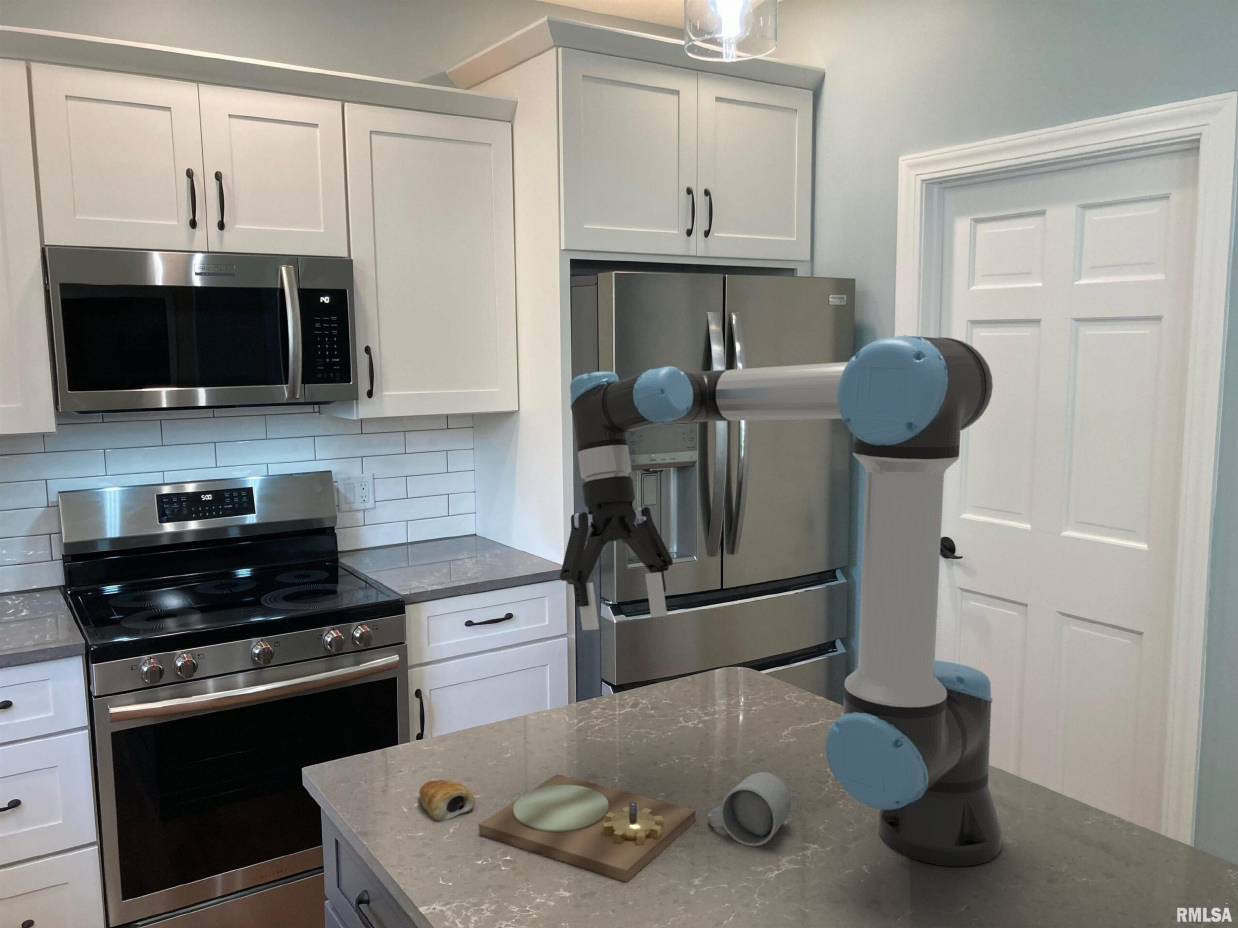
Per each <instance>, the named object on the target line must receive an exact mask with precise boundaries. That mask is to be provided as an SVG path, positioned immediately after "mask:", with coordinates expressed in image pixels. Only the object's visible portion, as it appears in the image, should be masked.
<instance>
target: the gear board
mask: <svg viewBox="0 0 1238 928" xmlns="http://www.w3.org/2000/svg"><path fill="white" fill-rule="evenodd" d="M630 802H636V803H637V811H641V810H643V809H644V808H647V809H651V810H652V816H662V817H663V819H664V828H662V836H661V837H660V838H659V839H655V838H652V837H649V838H647V839H645V844H642V845H636V843H635V841H627V840H625V841H624V842H623V843H621V844H619V843H615V842H613V835H605V836H604V834H603V832H602V823H605V815H606V814H608V813H609V812H611V813H614V814H618V813H621V812H622V808H624V807H629V803H630ZM694 821H695V822H696V809H693V808H688V807H684V806H681V805H677V804H673V803H669V802H667V801H662V800H658V799H655V798H650V797H647V796H644V795H639V794H635V793H632V792H628V791H624V790H620V789H617V788H612V787H608V786H604V785H601V784H597V783H593V782H591V781H586V780H582V779H580V778H579V779H578V778H575V777H571V776H567V775H563V774H559V773H557V774H555V775H554V776H552V777H550V778H549V779H547V780H545V781H544V782H542V783H541V784H539V785H538V786H536V787H534V788H533V789H531V790H530V791H528V792H527V791H526V793H524V794H522V795H521V796H519V797H518V799H516V800H514V801H513V802H511V803H509V804H508V805H506V806H505V807H503V808H502V809H500V810H498V811H497V812H495V813H494V814H492V815H490V816H489V817H488V818H486V819H484V820H483V821H480V823H478V835H479V836H482V837H485V838H489V839H491V840H494V841H497V842H501V843H504V844H506V845H510V846H513V847H516V848H520V849H522V850H525V851H529V852H531V853H535V854H538V855H541V856H544V857H547V856H548V857H547V858H550V857H551V859H553V858H555V859H554V860H556V861H559V860H560V861H559V862H562V861H564V862H563V863H566V864H569V863H570V864H569V865H572V864H573V865H572V866H575V865H577V866H576V867H578V866H579V867H578V868H582V869H585V870H587V869H588V871H590V870H592V871H591V872H594V873H597V874H600V875H602V876H603V875H604V876H606V877H609V878H612V879H616V880H620V881H622V882H625V883H628V882H629V881H630V880H631V879H633V877H635V876H636V875H637V874H638V873H640V872H641V870H642V869H644V868H645V867H646V866H647V865H648V864H649V863H651V861H653V859H655V858H656V857H657V856H658V855H659V854H661V853H662V851H664V850H665V849H666V848H667V847H668V846H669V845H670V844H672V842H673V841H675V840H676V839H678V837H679V836H681V834H683V833H684V832H685V831H686V830H687V829H688V828H690V826H692V825H693V824H694V823H695V822H694ZM693 822H694V823H693ZM686 828H687V829H686ZM685 829H686V830H685ZM684 830H685V831H684ZM683 831H684V832H683Z"/></svg>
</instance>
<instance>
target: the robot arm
mask: <svg viewBox="0 0 1238 928" xmlns="http://www.w3.org/2000/svg"><path fill="white" fill-rule="evenodd" d="M619 379H620V378H619V376H618V374H617V373H615V372H613V371H594V372H590V373H583V374H579V375H578V376H576V377H574V378H573V379H572V380H571V382H570V385H569V391H570V410H571V412H572V420H573V424H574V425H573V426H574V432H575V442H576V447H577V449H576V450H577V456H578V458H577V459H578V463H579V465H578V466H579V472H580V473H579V474H580V478H581V479H583V480H585V481H584V482H583V483H582V484H581V488H582V497H583V504H584V506H585V507H586V508H587V509H588V510H587V511H588V512H585V511H583V512H579V513H574V514H571V516H570V527H571V529H570V534H569V538H568V541H567V546H566V550H565V554H564V558H563V562H562V566H561V570H560V575H559V579H560V581H562V582H567V584H568V585H570V586H571V585H572V586H573V593H574V601H575V605H576V607H577V608H579V612H580V613H579V614H580V623H581V629H582V631H593V630H599V629H600V627H599V618H598V612H597V605H596V604H597V603H596V595H595V588H594V587H595V586H594V582H588V580H589V578H590V576H591V574H592V571H593V570H594V568H595V565H596V563H598V559H599V557H600V556H601V553H602V551H603V549H604V547H605V546H606V545H607V543H609V542H619V541H621V542H623V543H626V544H627V546H628V547H629V548H630V549H631V551H633V553H634V554H635V556H636V557H637V558H638V559H639V560H640V561H641V563H642V565H643V566H644V567H645V568H646V569H647V570H648V571H649V572H650V573H648V572H647V573H644V575H645V582H646V590H647V597H648V604H649V613H650V618H656V617H657V618H658V617H666V616H668V612H667V611H668V610H667V604H666V597H665V596H666V595H665V593H666V590H667V587H666V581H665V575H664V573H665V572H666V571H668V570H669V567H670V566H672V565H673V563H674V562H673V558H672V557H671V555H670V552H669V550H668V549H667V546H666V544H665V542H664V540H663V539H662V537H661V534H660V533H659V532H658V528H657V527H656V525H655V523H654V520H653V517H652V513H651V509H650V507H648V506H645V507H639V508H635V509H634V506H633V502H634V501H635V500H636V495H635V488H634V480H633V478H632V477H631V476H630V475H629V474H630V473H631V472H632V465H631V459H630V452H629V451H630V450H629V444H628V434H627V433H629V432H630V433H631V432H632V431H636V430H641V429H644V428H645V429H646V428H648V427H654V426H663V425H676V424H686V423H699V422H702V423H703V422H704V423H705V422H728V421H767V420H768V421H773V420H775V421H776V420H777V421H782V420H825V419H826V420H830V419H832V420H834V419H835V420H836V419H839V420H840V419H841V420H842V421H843V423H845V424H846V425H847V427H848V430H849V431H850V432H851V433H852V434H853V437H852V439H853V442H852V444H853V446H852V455H853V456H854V458H856V460H857V461H859V463H861V465H862V467H864V470H865V484H864V487H865V489H864V490H865V492H864V509H863V510H864V511H863V515H864V516H863V536H862V558H861V559H862V561H861V562H862V563H861V585H860V589H861V590H860V608H859V609H860V610H859V611H860V612H859V613H860V615H859V636H858V637H859V638H858V639H859V640H858V643H859V644H858V665H857V668H856V669H855V670H854V671H852V673H849V675H848V676H847V677H845V680H844V687H843V688H844V689H843V711H842V713H843V715H842V714H841V715H840V716H839V717H837V719H835V721H834V722H833V723H832V724H831V726H830V728H829V729H828V731H827V733H826V737H825V741H824V743H825V745H824V747H825V748H824V749H825V751H824V752H825V757H826V761H827V764H828V766H829V769H830V771H831V773H832V776H833V777H834V778H835V780H836V781H838V782H839V783H840V785H842V787H843V788H842V789H843V790H844V791H845V792H846V793H847V794H849V796H851V797H852V798H853V799H855V800H856V801H858V802H859V803H861V804H863V805H865V806H867V807H870V808H873V809H877V810H879V814H878V815H879V819H878V820H879V821H878V830H879V835H880V837H881V839H882V840H883V841H884V842H885V844H886V845H888V846H889V847H890V848H892V849H893V850H894V851H896V852H898V853H900V854H902V855H903V856H906V857H909V858H911V859H914V860H916V861H920V862H924V863H927V864H931V865H937V866H945V867H946V866H947V867H970V866H977V865H980V864H985V863H987V862H989V861H992V860H993V859H995V858H996V857H997V856H998V855H999V853H1000V852H1001V850H1002V827H1001V823H1000V820H999V817H998V814H997V810H996V807H995V805H994V801H993V798H992V794H991V791H990V789H989V769H990V768H989V767H990V739H991V715H992V714H991V713H992V709H991V708H992V703H993V697H992V691H991V690H992V689H991V682H990V681H991V680H990V678H989V676H987V675H986V674H985V673H984V672H983V671H982V670H979V669H976V668H975V667H972V666H971V667H970V666H968V665H965V664H960V663H955V662H950V661H943V660H937V659H935V658H936V641H937V623H938V622H937V620H938V602H939V601H938V600H939V580H940V579H939V577H940V562H941V561H940V560H941V559H940V558H941V557H940V556H941V544H942V543H941V539H942V519H943V501H944V500H943V498H944V483H945V482H944V480H945V479H944V477H945V473H946V471H947V470H948V469H949V468H950V467H951V466H952V465H953V464H954V463H956V462H957V461H958V460H959V458H960V449H961V448H960V444H961V431H964V430H965V429H967V428H969V427H971V426H973V424H974V423H976V421H978V420H979V419H980V418H982V416H983V415H984V413H985V412H986V410H987V408H988V406H989V405H990V404H989V403H990V401H991V399H992V394H993V387H994V385H993V376H992V371H991V369H990V366H989V364H988V362H987V361H986V360H985V358H984V356H983V355H982V354H981V352H979V351H978V350H977V349H976V348H974V346H972V345H970V344H968V343H966V342H964V341H963V340H959V339H956V338H952V337H927V336H918V335H917V336H915V335H906V334H903V335H900V336H891V337H885V338H881V339H878V340H874V341H872V342H870V343H867V345H865V346H863V347H862V348H861V349H860V350H858V351H857V352H856V353H855V354H854V356H852V357H851V358H850V359H849V361H842V362H825V363H811V364H797V365H782V366H767V367H765V366H764V367H753V368H737V369H736V368H735V369H725V370H723V369H722V370H721V369H720V370H705V371H688V372H687V371H681V370H679V368H677V367H675V366H669V365H668V366H663V367H659V368H654V367H653V368H652V369H651V368H650V369H648V370H646V371H644V372H642V373H639V374H636V375H633V376H629V377H627V378H624V379H623V378H622V379H620V380H619ZM589 527H590V528H591V530H590V532H589ZM588 533H589V534H588Z"/></svg>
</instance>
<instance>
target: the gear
mask: <svg viewBox="0 0 1238 928" xmlns="http://www.w3.org/2000/svg"><path fill="white" fill-rule="evenodd" d="M662 828H664V819H663V817H662V816H652V810H651V809H647V808H644V809H643V810H641V811H637V803H636V802H630V803H629V807H624V808H622V812H621V813H618V814H614V813H611V812H609V813H608V814H606V815H605V823H602V832H603V834H604V836H605V835H613V842H615V843H619V844H621V843H623V842H624V841H625V840H627V841H635V843H636V845H642V844H645V839H647V838H649V837H652V838H655V839H659V838H660V837H661V836H662Z"/></svg>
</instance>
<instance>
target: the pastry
mask: <svg viewBox="0 0 1238 928" xmlns="http://www.w3.org/2000/svg"><path fill="white" fill-rule="evenodd" d="M419 798H420V801H421V804H422V808H423V809H424V810H425V811H426V812H427V813H428V814H429V816H430V817H432V818H433V820H436V821H439V822H440V821H441V822H442V821H447V820H451V819H454V818H456V817H457V816H458V817H459V815H463V814H465V813H468V812H469V811H471V810H472V809H473V807H474V806H475V804H476V798H475V797H474V795H473V792H471V790H469V788H467V787H466V786H465V785H463V784H462V783H461V782H460V781H451V780H448V779H439V780H430V781H426V782H425V783H424V784H422V785H421V786H420V789H419Z"/></svg>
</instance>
